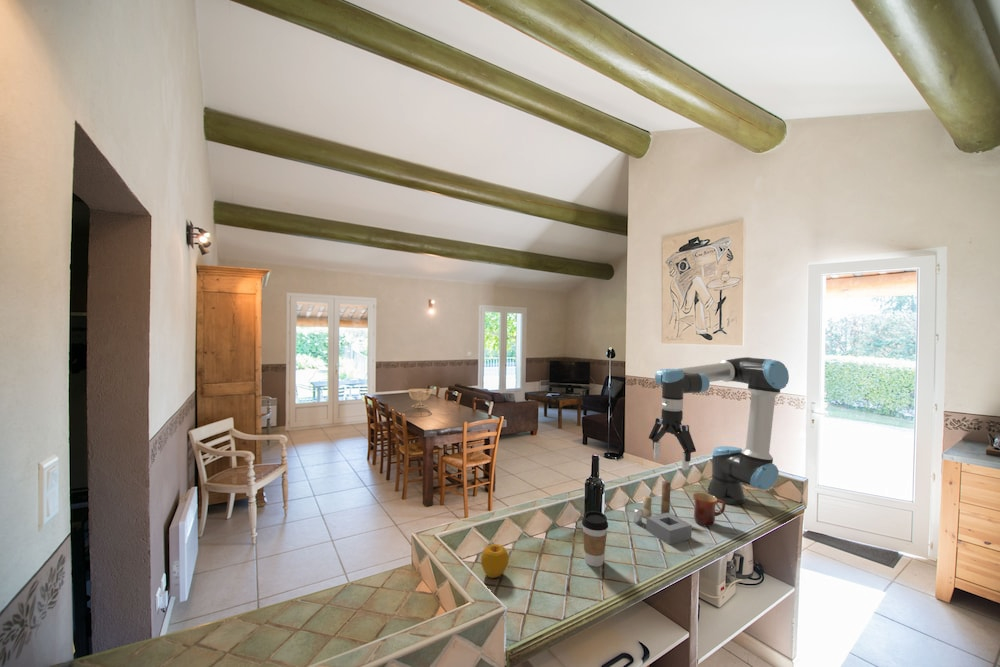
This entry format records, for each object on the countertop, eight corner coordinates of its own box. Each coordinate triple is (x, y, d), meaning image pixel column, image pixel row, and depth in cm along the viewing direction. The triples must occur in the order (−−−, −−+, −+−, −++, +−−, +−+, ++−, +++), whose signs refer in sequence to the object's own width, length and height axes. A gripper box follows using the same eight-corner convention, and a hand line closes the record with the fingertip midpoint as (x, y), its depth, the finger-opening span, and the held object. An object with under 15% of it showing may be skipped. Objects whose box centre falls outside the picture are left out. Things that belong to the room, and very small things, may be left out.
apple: (499, 587, 122) (499, 557, 122) (474, 578, 126) (475, 549, 126) (512, 572, 129) (513, 544, 129) (489, 564, 134) (489, 537, 133)
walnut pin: (665, 513, 172) (666, 480, 172) (671, 517, 169) (672, 483, 169) (659, 515, 171) (660, 481, 171) (665, 518, 168) (666, 484, 168)
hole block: (667, 525, 163) (668, 512, 162) (691, 538, 153) (691, 525, 153) (646, 530, 158) (646, 517, 158) (669, 544, 148) (669, 530, 148)
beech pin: (646, 514, 171) (647, 495, 171) (652, 517, 168) (653, 498, 168) (640, 515, 170) (641, 496, 170) (646, 519, 167) (647, 499, 167)
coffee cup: (608, 557, 139) (609, 512, 139) (605, 571, 131) (607, 524, 131) (582, 552, 142) (583, 508, 141) (579, 565, 134) (580, 519, 133)
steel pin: (638, 520, 166) (638, 507, 166) (644, 523, 163) (644, 511, 163) (631, 521, 165) (632, 509, 165) (637, 525, 162) (638, 512, 162)
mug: (696, 527, 161) (697, 501, 161) (688, 516, 170) (689, 492, 170) (729, 529, 160) (730, 503, 160) (719, 519, 169) (720, 493, 169)
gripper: (640, 403, 170) (639, 455, 171) (693, 416, 148) (691, 476, 148) (654, 402, 173) (652, 453, 174) (707, 415, 151) (705, 473, 152)
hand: (670, 463), depth 161 cm, fingers open, 13 cm apart
